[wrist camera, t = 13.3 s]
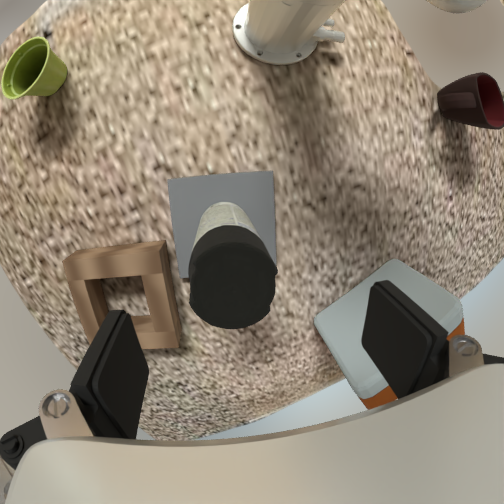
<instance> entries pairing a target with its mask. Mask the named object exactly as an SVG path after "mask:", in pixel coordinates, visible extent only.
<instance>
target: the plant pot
mask: <svg viewBox="0 0 504 504" xmlns="http://www.w3.org/2000/svg"><path fill="white" fill-rule="evenodd" d="M66 76H67V67H66V65H65V64H64V62H63V61H62V60H61V59H59V58H58V57H57V56H56V55H55V54H54V53H53V52H52V51H51V48H50V45H49V42H48V41H47V40H46V39H45V38H43V37H34V38H31V39H29V40H27V41H26V42H25V43H23V44H22V45H21V46H20V47H19V48H18V49H17V50H16V51H15V52H14V53H13V55H12V56H11V58H10V59H9V61H8V63H7V65H6V67H5V69H4V72H3V76H2V82H1V87H2V92H3V94H4V96H5V97H6V98H8V99H18V98H20V97H23V96H26V95H30V96H50V95H52V94H54V93H55V92H57V91H58V89H59V88H60V86H61V85H62V84H63V83H64V81H65V79H66Z"/></svg>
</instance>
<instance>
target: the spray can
mask: <svg viewBox="0 0 504 504" xmlns="http://www.w3.org/2000/svg"><path fill="white" fill-rule="evenodd" d="M277 273H278V270H277V267H276V265H275V263H274V262H273V260H272V258H271V256H270V254H269V252H268V250H267V248H266V246H265V244H264V243H263V241H262V239H261V238H260V236H259V234H258V233H257V231H256V229H255V228H254V226H253V224H252V223H251V221H250V219H249V218H248V216H247V214H246V213H245V212H244V210H243V209H242V208H240V207H239V206H238V205H236V204H234V203H230V202H219V203H216V204H214V205H212V206H210V207H209V208H208V209H207V210H206V211H205V212H204V214H203V215H202V217H201V220H200V224H199V227H198V231H197V234H196V238H195V242H194V245H193V249H192V253H191V257H190V261H189V268H188V275H189V280H190V290H191V292H190V302H189V304H190V306H191V308H192V309H193V311H194V312H195V313H196V315H197V316H199V317H200V318H201V319H203V320H204V321H205V322H207V323H209V324H210V325H212V326H216V327H220V328H225V329H239V328H245V327H248V326H250V325H253V324H255V323H257V322H258V321H260V320H261V319H263V318H264V317H265V316H266V315H267V314H268V313H269V312H270V304H271V302H272V300H273V298H274V295H275V286H276V285H275V275H276V274H277Z"/></svg>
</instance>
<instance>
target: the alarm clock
mask: <svg viewBox="0 0 504 504" xmlns="http://www.w3.org/2000/svg"><path fill="white" fill-rule="evenodd" d="M383 280H389V281H391V282H392V283H393V284H394V285H395V286H397V287H398V288H399V289H400V290H401V291H402V292H404V293H405V294H406V295H407V296H408V297H410V298H411V299H412V300H413V301H414V302H415V303H416V304H418V305H419V306H420V307H421V308H422V309H423V310H425V311H426V312H427V313H428V314H429V315H430V316H431V317H432V318H433V319H435V320H436V321H437V322H438V323H439V324H440V325H441V326H442V327H443V328H445V329H446V330H447V331H448V332H449V333H448V336H447V340H448V341H450V339H451V338H452V337H453V336H455V335H465V332H464V318H463V308H462V304H461V302H460V300H459V299H458V298H457V297H456V296H454V295H453V294H451V293H450V292H448V291H447V290H445V289H444V288H442V287H441V286H439V285H438V284H436V283H435V282H433V281H432V280H430V279H429V278H427V277H425V276H424V275H422V274H421V273H419V272H418V271H416V270H414V269H413V268H411V267H410V266H408V265H406V264H405V263H403V262H401V261H400V260H398V259H391V260H389V261H387V262H386V263H385V264H384V265H383V266H381V267H380V268H379V269H378V270H376V271H375V272H374V273H372V274H371V275H370V276H369V277H367V278H366V279H365V280H363V281H362V282H361V283H359V284H358V285H357V286H355V287H354V288H353V289H351V290H350V291H349V292H347V293H346V294H345V295H343V296H342V297H341V298H339V299H338V300H336V301H335V302H334V303H332V304H331V305H330V306H328V307H327V308H325V309H324V310H322V311H321V312H320V313H318V314H317V315H316V317H315V318H314V325H315V327H316V328H317V330H318V332H319V333H320V335H321V337H322V338H323V340H324V342H325V343H326V345H327V347H328V348H329V350H330V352H331V354H332V355H333V357H334V359H335V360H336V362H337V364H338V365H339V367H340V369H341V370H342V372H343V374H344V376H345V377H346V379H347V380H348V382H349V384H350V386H351V387H352V389H353V390H354V392H355V393H356V394H357V396H358V397H359V398H360V400H361V401H362V402H363V404H364V405H365V406H366V408H367V409H368V410H370V409H373V408H376V407H379V406H381V405H384V404H387V403H390V402H392V401H395V400H396V399H397V396H396V395H395V393H394V392H393V390H392V389H391V387H390V386H389V384H388V383H387V382H386V380H385V379H384V377H383V376H382V374H381V373H380V371H379V370H378V368H377V367H376V365H375V364H374V363H373V361H372V360H371V358H370V357H369V355H368V354H367V352H366V351H365V350H364V348H363V346H362V343H361V338H362V333H363V328H364V322H365V317H366V311H367V305H368V299H369V293H370V288H371V287H372V286H373V285H374V283H375V282H378V281H383Z"/></svg>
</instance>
